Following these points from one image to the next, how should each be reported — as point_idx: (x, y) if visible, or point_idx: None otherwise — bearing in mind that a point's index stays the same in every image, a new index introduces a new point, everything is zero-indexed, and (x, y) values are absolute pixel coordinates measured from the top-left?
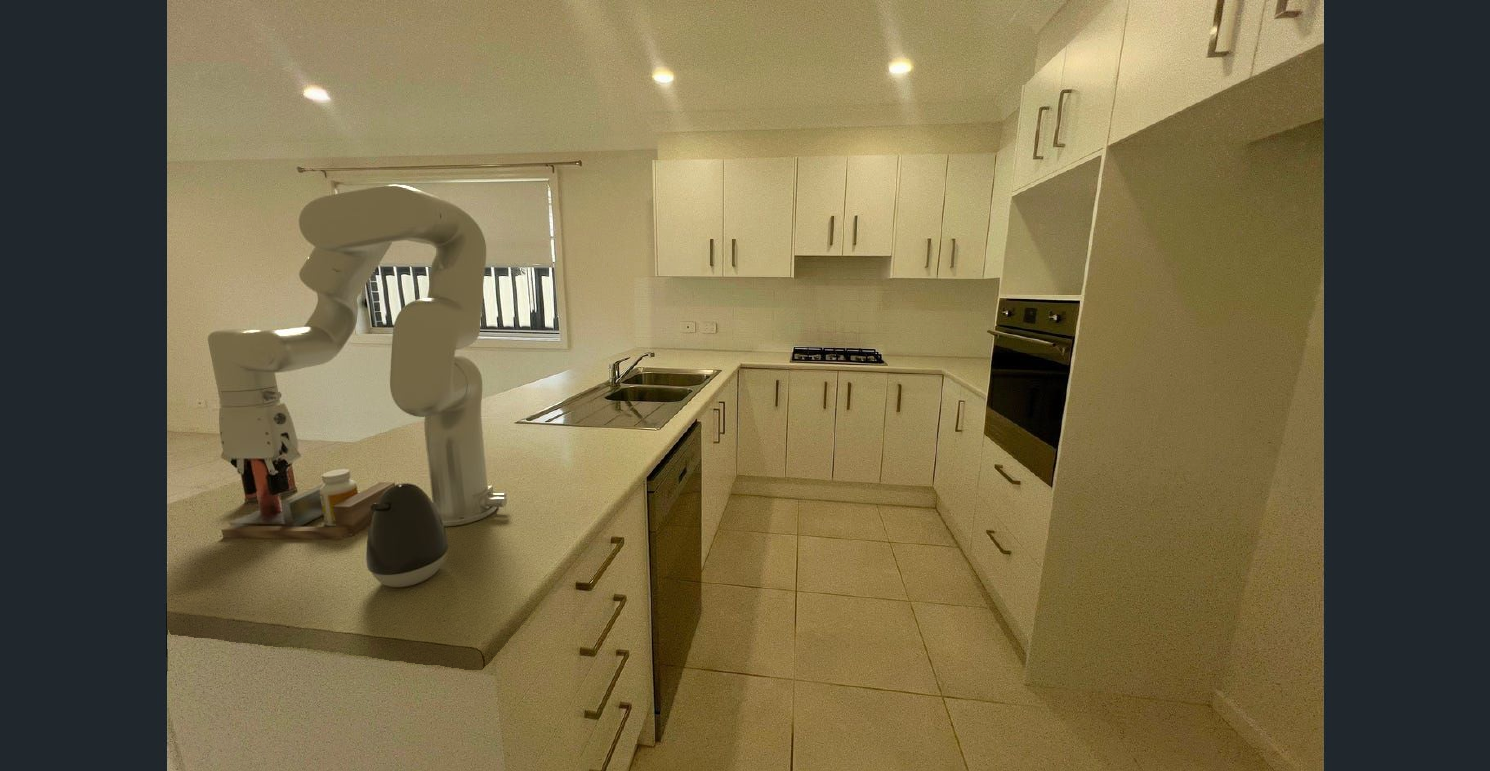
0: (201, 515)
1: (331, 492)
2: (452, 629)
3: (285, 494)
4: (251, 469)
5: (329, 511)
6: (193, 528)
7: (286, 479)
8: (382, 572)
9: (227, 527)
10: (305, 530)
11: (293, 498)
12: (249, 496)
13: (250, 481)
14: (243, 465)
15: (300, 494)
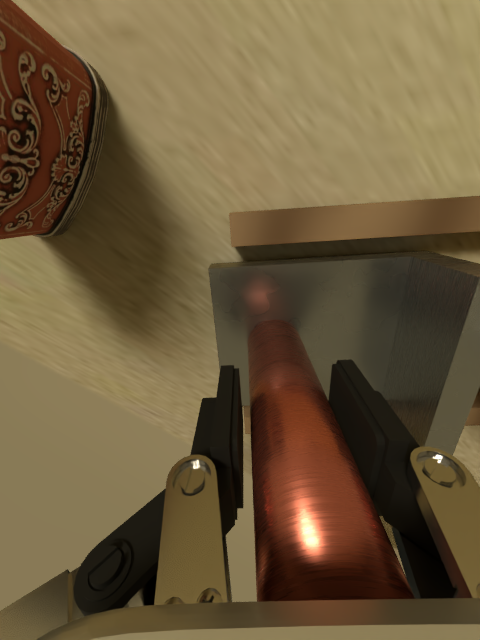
0: (30, 326)
1: None
2: None
3: (101, 137)
4: (231, 510)
5: None
6: (117, 388)
7: (393, 415)
8: None
9: (246, 424)
10: (466, 424)
11: (440, 426)
12: (39, 232)
13: (242, 461)
14: (231, 595)
15: (441, 395)
